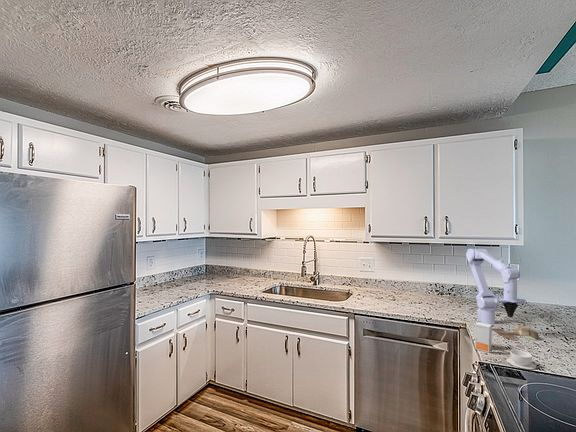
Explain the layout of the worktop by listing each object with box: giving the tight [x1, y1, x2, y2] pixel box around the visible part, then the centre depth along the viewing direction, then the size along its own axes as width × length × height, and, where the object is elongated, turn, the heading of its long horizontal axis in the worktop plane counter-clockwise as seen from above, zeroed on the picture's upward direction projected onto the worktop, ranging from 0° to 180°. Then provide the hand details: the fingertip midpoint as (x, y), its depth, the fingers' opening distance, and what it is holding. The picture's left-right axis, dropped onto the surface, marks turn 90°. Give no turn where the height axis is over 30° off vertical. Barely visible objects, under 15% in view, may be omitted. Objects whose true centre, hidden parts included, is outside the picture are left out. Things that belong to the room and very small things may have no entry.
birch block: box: [515, 324, 530, 337], centre depth 159 cm, size 4×4×4 cm
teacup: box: [506, 349, 537, 370], centre depth 130 cm, size 10×10×5 cm
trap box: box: [492, 323, 539, 341], centre depth 160 cm, size 14×15×4 cm
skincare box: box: [474, 321, 493, 354], centre depth 143 cm, size 6×4×12 cm
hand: (510, 316), depth 163 cm, fingers closed
